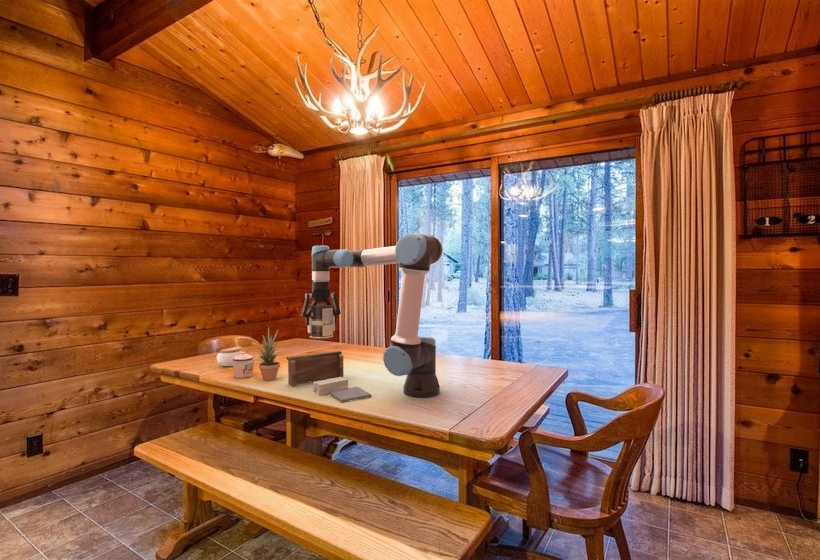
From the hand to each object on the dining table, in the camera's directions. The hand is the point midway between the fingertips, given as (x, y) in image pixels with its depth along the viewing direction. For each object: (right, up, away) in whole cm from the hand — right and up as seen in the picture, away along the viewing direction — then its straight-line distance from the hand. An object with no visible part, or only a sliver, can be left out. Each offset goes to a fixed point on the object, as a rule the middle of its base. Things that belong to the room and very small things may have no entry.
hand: (321, 331), depth 185 cm
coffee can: (0, -3, 0) cm, 3 cm away
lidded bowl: (-57, -23, +39) cm, 73 cm away
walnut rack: (-4, -23, +7) cm, 25 cm away
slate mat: (+15, -24, -15) cm, 32 cm away
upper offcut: (+6, -22, -9) cm, 24 cm away
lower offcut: (+6, -25, -9) cm, 27 cm away
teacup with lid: (-40, -24, +18) cm, 50 cm away
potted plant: (-27, -24, +11) cm, 37 cm away
